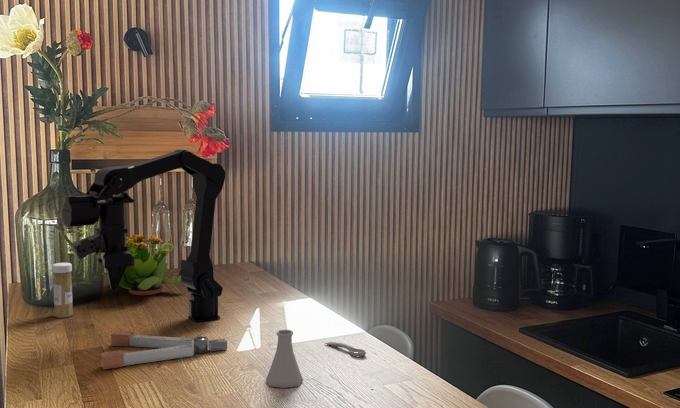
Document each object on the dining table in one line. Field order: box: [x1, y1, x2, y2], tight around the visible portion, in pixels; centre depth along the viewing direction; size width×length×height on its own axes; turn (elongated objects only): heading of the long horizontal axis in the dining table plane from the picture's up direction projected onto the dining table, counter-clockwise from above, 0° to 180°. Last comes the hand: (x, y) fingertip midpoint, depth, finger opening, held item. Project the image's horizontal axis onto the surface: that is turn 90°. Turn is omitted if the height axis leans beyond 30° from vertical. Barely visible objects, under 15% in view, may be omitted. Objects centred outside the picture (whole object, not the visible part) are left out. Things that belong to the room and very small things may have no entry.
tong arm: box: [110, 330, 209, 355], centre depth 146 cm, size 22×4×3 cm, turn 82°
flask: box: [265, 329, 304, 389], centre depth 128 cm, size 7×7×10 cm
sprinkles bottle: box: [51, 262, 74, 319], centre depth 168 cm, size 5×5×14 cm
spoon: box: [324, 341, 367, 358], centre depth 147 cm, size 3×12×2 cm, turn 43°
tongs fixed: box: [100, 338, 228, 370], centre depth 140 cm, size 26×4×3 cm, turn 117°
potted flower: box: [100, 233, 182, 296], centre depth 193 cm, size 25×24×18 cm
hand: (113, 290), depth 153 cm, fingers closed
